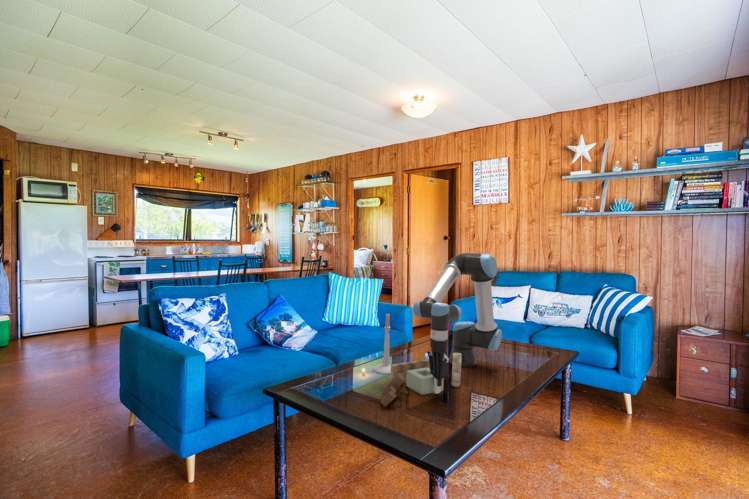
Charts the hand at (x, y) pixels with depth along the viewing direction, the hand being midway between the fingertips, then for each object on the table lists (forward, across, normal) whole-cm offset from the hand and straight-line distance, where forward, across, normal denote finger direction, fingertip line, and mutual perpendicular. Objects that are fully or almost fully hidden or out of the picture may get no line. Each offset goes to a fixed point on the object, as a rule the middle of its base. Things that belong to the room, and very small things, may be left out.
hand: (437, 392), depth 171 cm
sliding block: (+1, -9, 0) cm, 9 cm away
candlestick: (+3, -41, -1) cm, 41 cm away
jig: (+2, -10, 0) cm, 10 cm away
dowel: (+2, -6, +16) cm, 17 cm away
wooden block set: (+2, -8, -19) cm, 21 cm away
